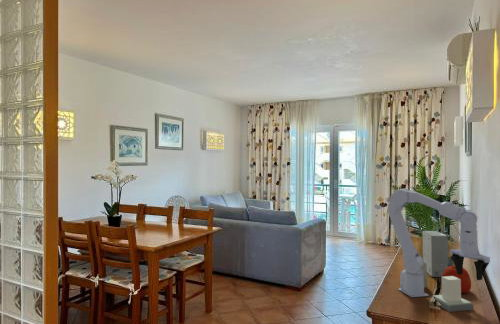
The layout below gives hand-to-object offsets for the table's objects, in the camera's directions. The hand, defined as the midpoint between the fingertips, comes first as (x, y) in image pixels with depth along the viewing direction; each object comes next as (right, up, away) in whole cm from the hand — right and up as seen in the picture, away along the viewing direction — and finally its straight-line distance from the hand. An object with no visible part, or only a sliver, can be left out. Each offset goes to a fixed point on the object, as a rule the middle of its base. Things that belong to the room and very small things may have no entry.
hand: (469, 276), depth 135 cm
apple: (+4, -11, +15) cm, 19 cm away
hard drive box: (+8, -11, +40) cm, 42 cm away
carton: (-8, -8, -1) cm, 11 cm away
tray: (-8, -10, -1) cm, 13 cm away
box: (-9, -11, +21) cm, 25 cm away
